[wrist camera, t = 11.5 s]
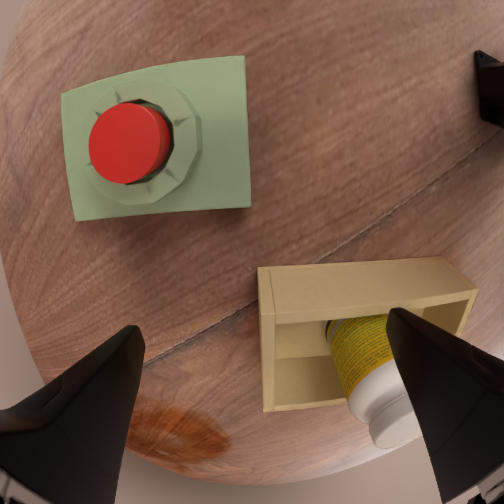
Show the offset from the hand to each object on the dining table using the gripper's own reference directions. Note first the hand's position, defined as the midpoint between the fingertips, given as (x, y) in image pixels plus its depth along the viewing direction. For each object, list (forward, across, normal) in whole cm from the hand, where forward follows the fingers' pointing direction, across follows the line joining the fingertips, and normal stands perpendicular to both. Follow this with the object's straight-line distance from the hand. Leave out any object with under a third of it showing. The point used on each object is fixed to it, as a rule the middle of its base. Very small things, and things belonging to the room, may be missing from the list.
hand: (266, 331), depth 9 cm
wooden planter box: (+10, -8, +8) cm, 15 cm away
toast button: (+7, +6, -7) cm, 12 cm away
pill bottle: (+10, -8, +8) cm, 15 cm away
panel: (+10, +6, -7) cm, 14 cm away
